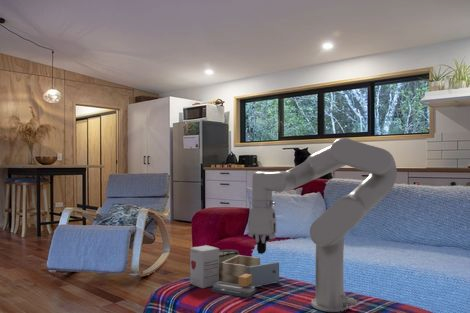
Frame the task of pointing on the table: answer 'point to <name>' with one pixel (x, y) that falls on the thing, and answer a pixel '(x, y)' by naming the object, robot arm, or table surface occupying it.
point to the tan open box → (236, 268)
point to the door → (263, 274)
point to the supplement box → (204, 266)
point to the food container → (226, 255)
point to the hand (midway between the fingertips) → (261, 253)
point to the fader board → (233, 289)
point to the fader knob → (245, 280)
